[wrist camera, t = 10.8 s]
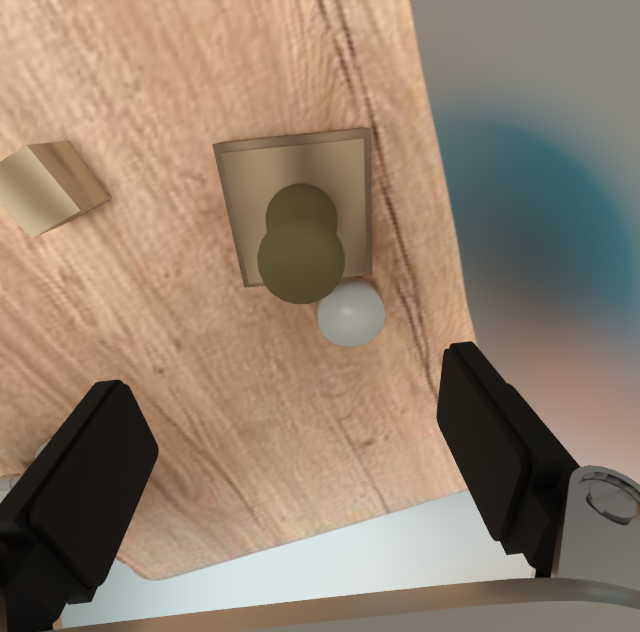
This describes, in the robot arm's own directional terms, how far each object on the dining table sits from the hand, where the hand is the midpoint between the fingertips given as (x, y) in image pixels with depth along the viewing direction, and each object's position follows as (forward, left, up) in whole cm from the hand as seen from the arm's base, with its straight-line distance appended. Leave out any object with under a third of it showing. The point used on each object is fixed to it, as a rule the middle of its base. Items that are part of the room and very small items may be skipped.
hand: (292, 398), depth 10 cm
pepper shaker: (0, 0, -21) cm, 21 cm away
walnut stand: (0, 0, -25) cm, 25 cm away
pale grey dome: (+4, -11, -25) cm, 28 cm away
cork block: (-20, +4, -25) cm, 32 cm away
